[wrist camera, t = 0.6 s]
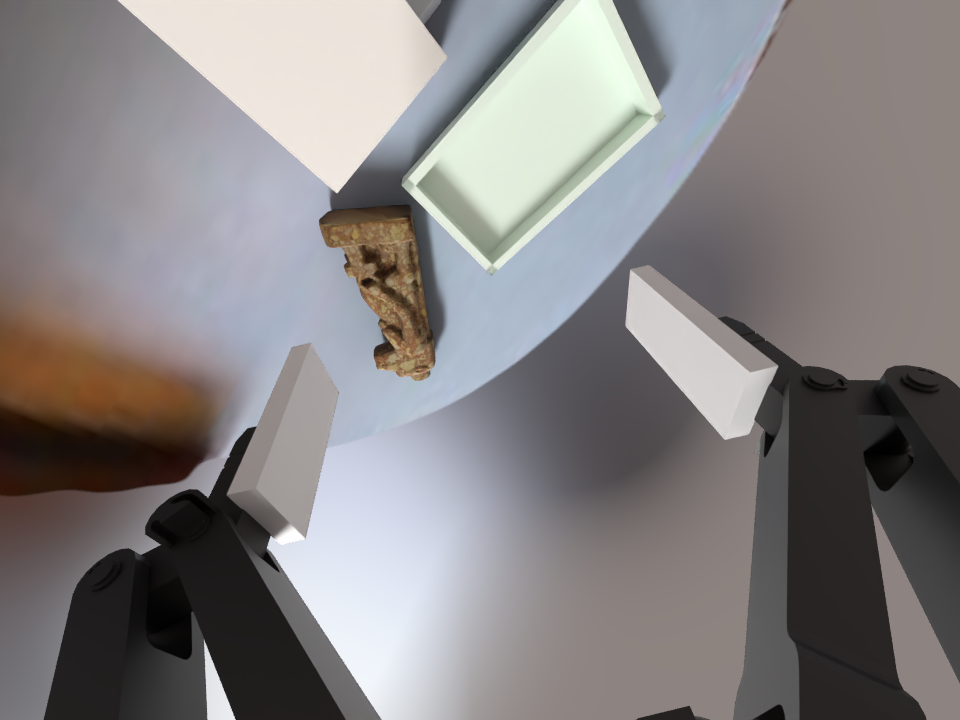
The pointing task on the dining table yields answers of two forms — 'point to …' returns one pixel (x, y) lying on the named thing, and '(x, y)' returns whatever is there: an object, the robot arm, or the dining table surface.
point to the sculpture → (387, 281)
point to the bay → (306, 67)
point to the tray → (537, 132)
